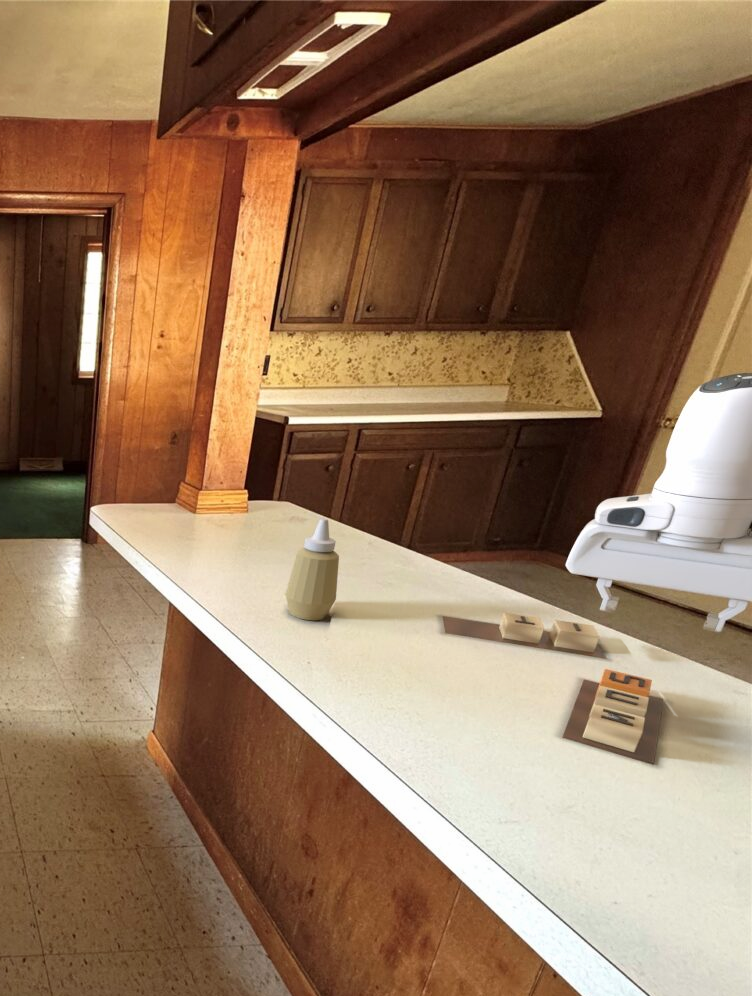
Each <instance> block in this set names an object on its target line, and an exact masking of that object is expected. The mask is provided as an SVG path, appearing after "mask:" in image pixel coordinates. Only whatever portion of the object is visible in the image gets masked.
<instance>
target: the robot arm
mask: <svg viewBox="0 0 752 996" xmlns="http://www.w3.org/2000/svg"><path fill="white" fill-rule="evenodd" d="M594 512H595V513H594V519H592V520H590V521H589V522H588V523H586V524H585V526H584V527H583V529H582V530H581V531H580V532H579V535H578V536H577V538H576V540H575V541H574V543H573V546H572V548H571V550H570V551H569V554H568V557H567V559H566V561H565V564H564V565H565V567H566V569H567V570H568V572H569V573H571V574H573V575H579V576H586V577H591V578H597V581H596V584H595V586H596V589H597V590H598V592H599V595H600V597H601V599H602V601H601V604H600V607H599V611H601V612H607V613H613V614H614V613H615V612H616V610H617V607H618V604H619V601H620V596H613V595H612V594H611V591H610V589H609V588H611V586H612V584H613V582H614V581H615V582H616V581H617V582H622V583H630V584H636V585H641V586H648V587H655V588H661V589H669V590H674V591H680V592H687V593H694V594H699V595H705V596H706V595H707V596H713V597H719V598H724V599H728V601H727V602H728V603H727V604H728V605H727V606H728V607H727V608H725V609H723V610H722V611H720V612H719V613H715V612H714V613H713V612H708V613H707V616H706V619H705V620H704V622H703V626H702V627H703V628H702V629H703V630H706V631H711V632H716V633H721V632H722V631H723V628H724V626H725V624H726V621H729V620H730V619H732V618H734V617H735V616H737V615H739V614H741V613H743V612H744V611H746V609H747V606H748V604H749V603H752V372H740V373H734V374H728V375H723V376H719V377H716V378H713V379H710V380H709V381H708V380H707V382H704V383H702V384H701V385H699V386H698V387H697V388H696V389H695V390H694V392H693V393H692V394H691V396H689V398H688V400H687V401H686V402H685V405H684V406H683V408H682V410H681V412H680V414H679V416H678V418H677V420H676V423H675V426H674V427H673V430H672V433H671V436H670V438H669V442H668V443H667V447H666V449H665V466H664V469H663V471H662V472H661V474H660V476H659V477H658V478H657V480H656V481H655V482H654V485H653V487H652V491H651V492H650V493H645V494H644V493H643V494H637V495H636V494H635V495H628V496H618V497H612V498H607V499H604V500H603V501H601V502H600V503H599V504H598V506H597V507H596V509H595V511H594Z"/></svg>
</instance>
